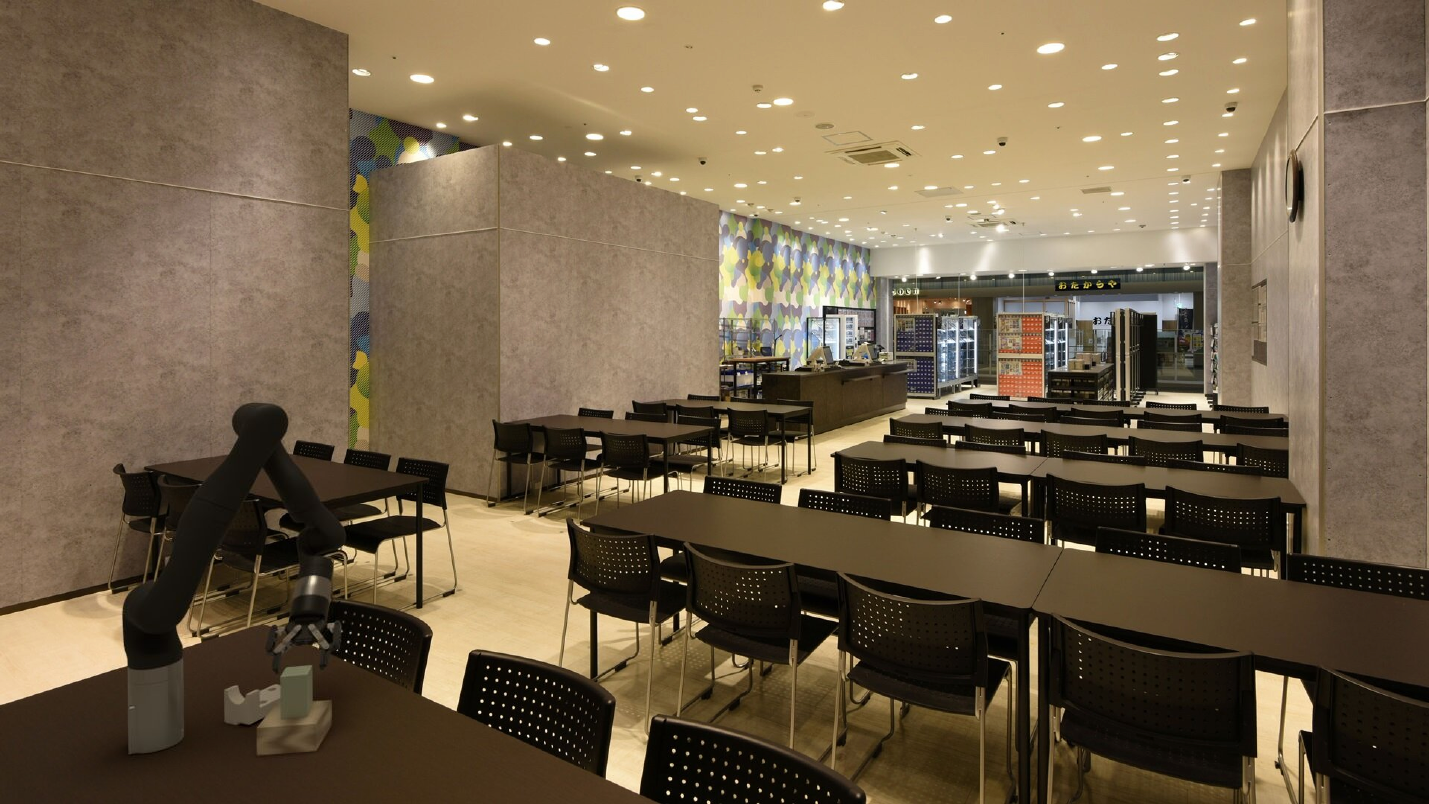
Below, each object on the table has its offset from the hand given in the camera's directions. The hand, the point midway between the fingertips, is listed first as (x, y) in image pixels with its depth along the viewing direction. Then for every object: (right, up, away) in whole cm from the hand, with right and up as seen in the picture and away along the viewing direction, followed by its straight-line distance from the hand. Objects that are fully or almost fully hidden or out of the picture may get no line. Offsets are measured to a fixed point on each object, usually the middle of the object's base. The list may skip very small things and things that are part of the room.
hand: (299, 670), depth 159 cm
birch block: (0, -14, -1) cm, 15 cm away
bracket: (-14, -14, +11) cm, 23 cm away
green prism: (0, -8, -1) cm, 9 cm away
